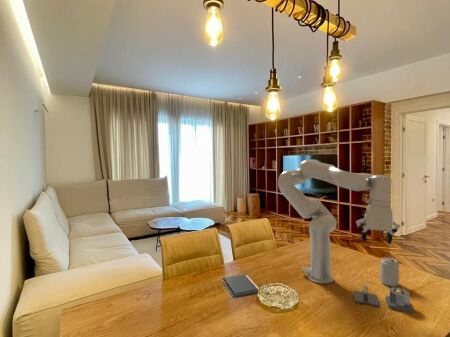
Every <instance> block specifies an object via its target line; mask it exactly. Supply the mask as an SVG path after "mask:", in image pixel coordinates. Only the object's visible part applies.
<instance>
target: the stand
mask: <svg viewBox="0 0 450 337" xmlns="http://www.w3.org/2000/svg"><path fill="white" fill-rule="evenodd" d="M353 299H354V303H355V304H360V305H366V306H371V307H375V308H380V303H379V302H380V301H379V299H378V296H377V294H376V293H369V286H367V285H363V291H358V290H353Z"/></svg>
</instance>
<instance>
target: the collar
mask: <svg viewBox="0 0 450 337" xmlns="http://www.w3.org/2000/svg"><path fill="white" fill-rule="evenodd" d="M396 290H400V291H401V292H402V294H398V293H396ZM388 296H389V299H390V302H391V303H393V304H395V305H397V306H401V307H407V306H409V303H410V304H411V302H410V299H411V298H410V296H411V295H410V292H409V291H407V290H406V289H404V288H400V287H397V286H395V287H390V288H389V294H388Z"/></svg>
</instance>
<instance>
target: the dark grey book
mask: <svg viewBox="0 0 450 337" xmlns="http://www.w3.org/2000/svg"><path fill="white" fill-rule="evenodd" d="M221 279H222V280H224V281H225V282H226V283H223V285H224V284H225V285H224V287H225V288H226V287H227V288H226V289H227V291H228V290H229V291H228V293H229V294H230V296H231V297H232V298H233V299H239V297H240V298H243V297H249V296H254V295H258V294H257V293H258V291H259V288H260V287H259V285H258V284H256V282H254V281H253V279H251V277H250V276H249V275H248V274H240V275H239V274H238V275H232V276H227V277H226V276H225V277H221V278H220V280H221Z"/></svg>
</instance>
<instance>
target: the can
mask: <svg viewBox="0 0 450 337" xmlns="http://www.w3.org/2000/svg"><path fill="white" fill-rule="evenodd" d="M399 277H400V263H399V262H398V259H395V258H393V257H387V256H384V257H382V258H381V260H380V278H379V279H380V281H381V283H382V284H383V285H384V286H387V287H391V288H394V287H397V286H398V285H399V283H400V278H399Z"/></svg>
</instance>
